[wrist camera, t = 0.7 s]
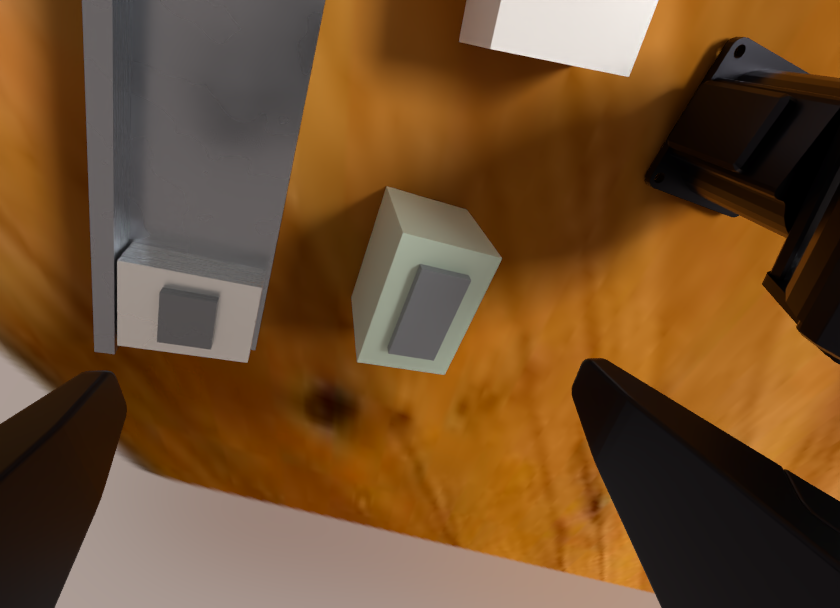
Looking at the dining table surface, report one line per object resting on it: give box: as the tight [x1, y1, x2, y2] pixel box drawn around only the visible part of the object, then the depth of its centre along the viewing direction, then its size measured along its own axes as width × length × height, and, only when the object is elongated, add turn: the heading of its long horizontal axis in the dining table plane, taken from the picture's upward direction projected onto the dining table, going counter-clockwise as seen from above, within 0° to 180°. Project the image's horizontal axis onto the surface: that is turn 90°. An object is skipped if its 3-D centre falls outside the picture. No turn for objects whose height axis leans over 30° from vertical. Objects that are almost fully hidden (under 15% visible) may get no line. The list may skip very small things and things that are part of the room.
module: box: [351, 186, 502, 375], centre depth 19 cm, size 4×6×5 cm, turn 160°
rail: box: [82, 0, 325, 363], centre depth 14 cm, size 6×22×3 cm, turn 160°
